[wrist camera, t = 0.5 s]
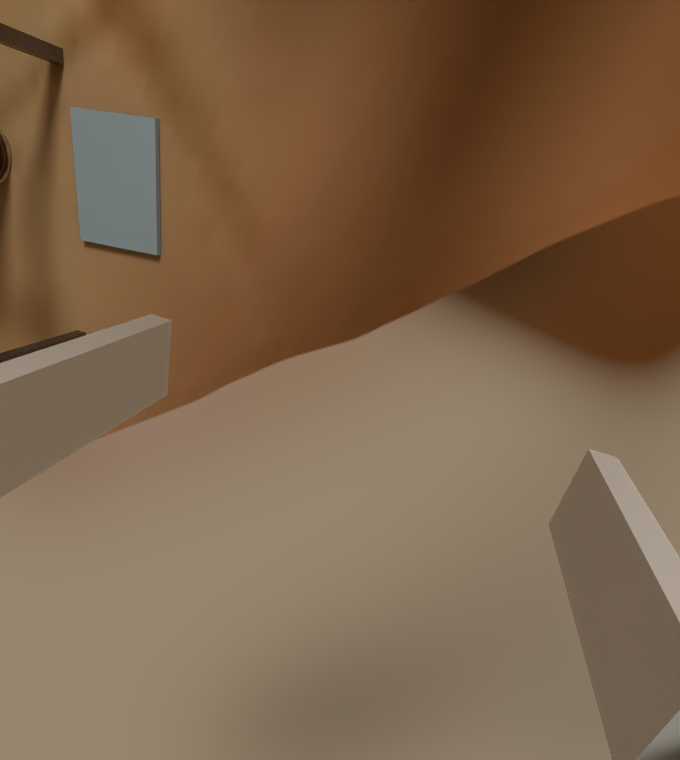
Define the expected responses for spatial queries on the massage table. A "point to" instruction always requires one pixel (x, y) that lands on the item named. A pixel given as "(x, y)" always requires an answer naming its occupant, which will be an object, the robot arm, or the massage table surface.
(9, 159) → the coffee cup
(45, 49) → the frame
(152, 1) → the massage table surface
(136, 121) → the mat
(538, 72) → the massage table surface
